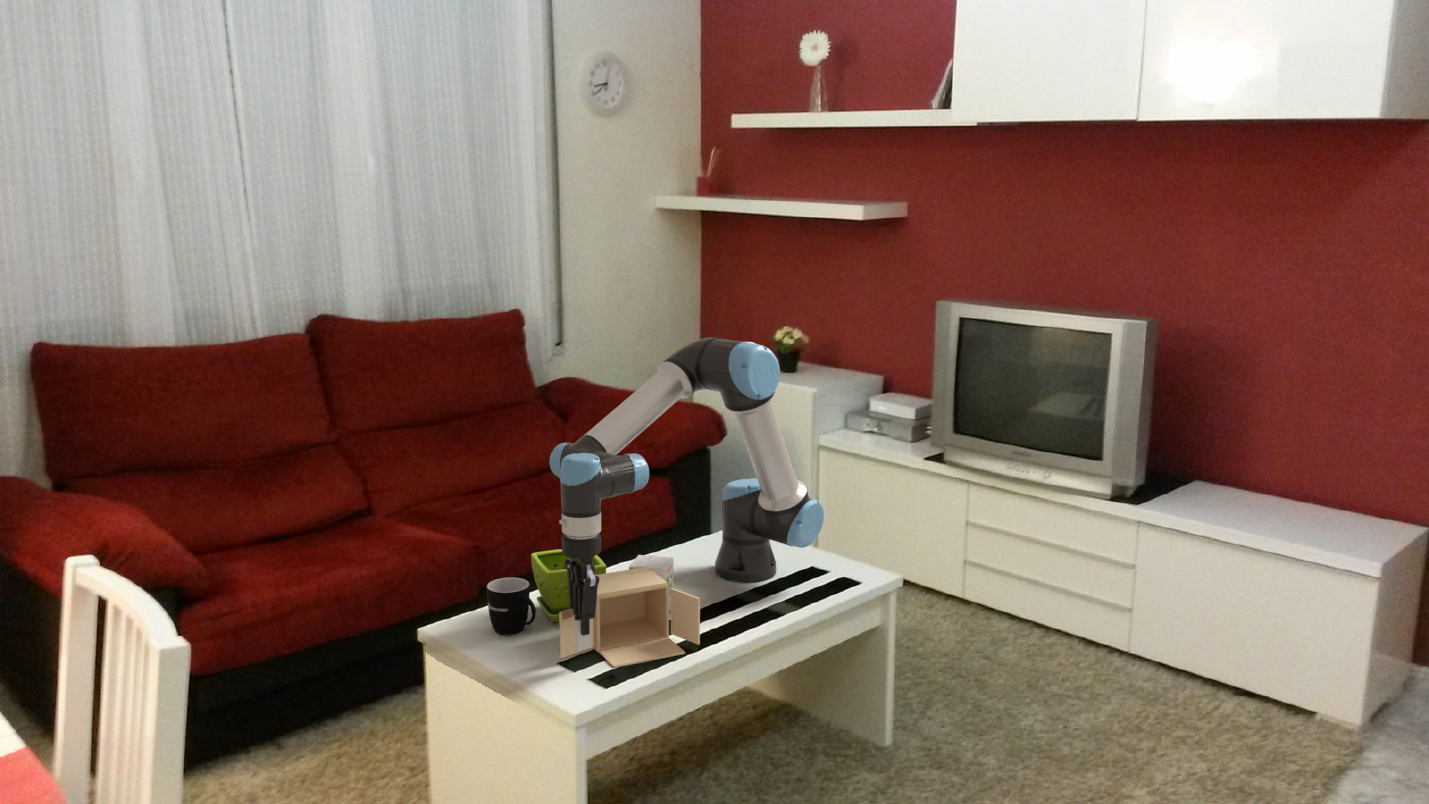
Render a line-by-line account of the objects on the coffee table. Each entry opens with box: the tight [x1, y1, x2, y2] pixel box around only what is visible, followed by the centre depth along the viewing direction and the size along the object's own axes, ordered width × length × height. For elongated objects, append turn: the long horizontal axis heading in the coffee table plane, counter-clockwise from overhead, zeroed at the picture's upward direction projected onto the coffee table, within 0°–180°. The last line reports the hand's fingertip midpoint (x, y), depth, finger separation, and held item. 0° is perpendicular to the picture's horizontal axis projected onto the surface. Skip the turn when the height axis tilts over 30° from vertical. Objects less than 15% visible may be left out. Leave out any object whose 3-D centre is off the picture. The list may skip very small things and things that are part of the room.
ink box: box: [628, 554, 674, 612], centre depth 252 cm, size 8×8×12 cm
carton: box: [592, 567, 701, 669], centre depth 236 cm, size 19×20×12 cm
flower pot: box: [530, 548, 607, 623], centre depth 251 cm, size 14×14×13 cm
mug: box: [486, 577, 537, 636], centre depth 240 cm, size 12×9×10 cm
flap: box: [559, 609, 593, 659], centre depth 227 cm, size 8×1×10 cm, turn 134°
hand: (583, 647), depth 223 cm, fingers closed
